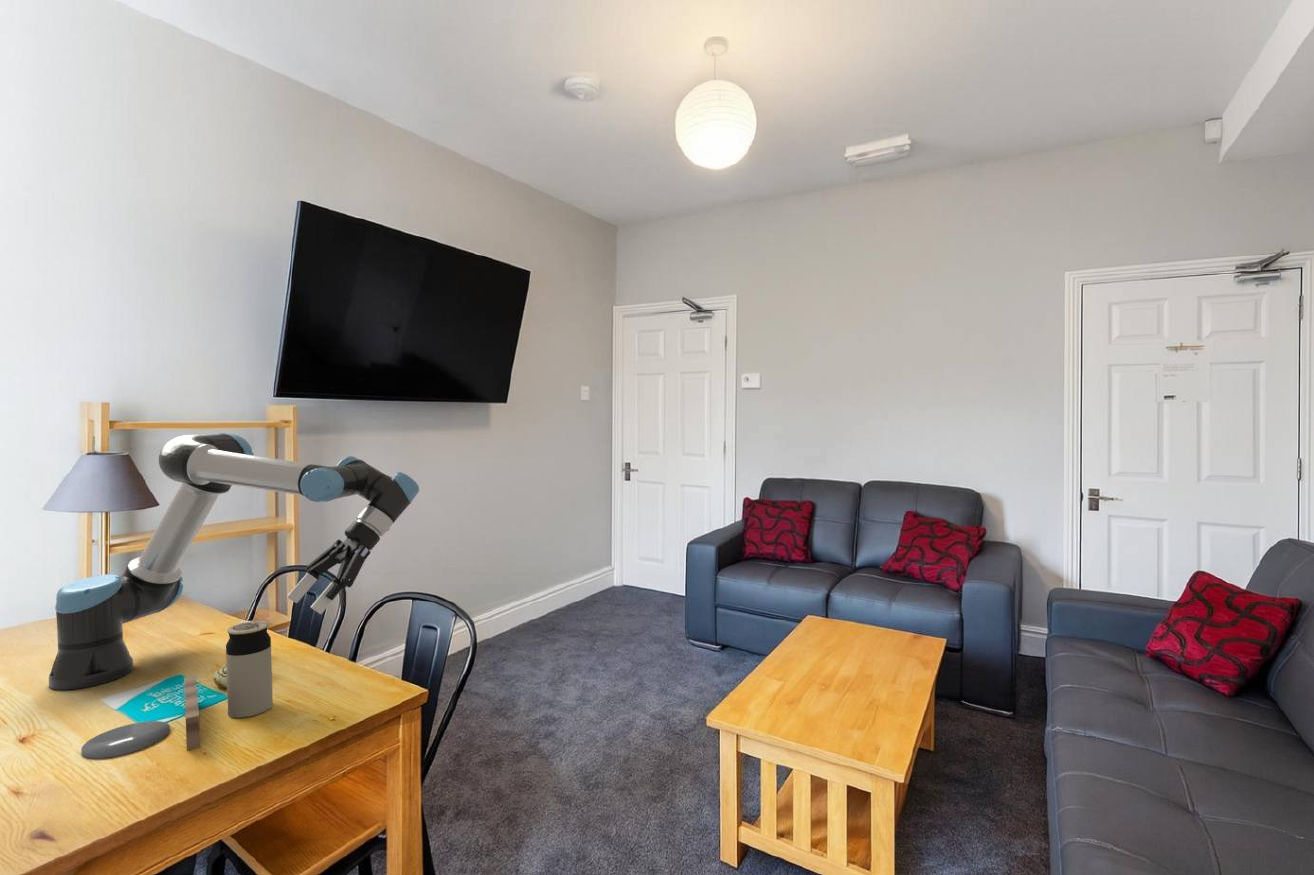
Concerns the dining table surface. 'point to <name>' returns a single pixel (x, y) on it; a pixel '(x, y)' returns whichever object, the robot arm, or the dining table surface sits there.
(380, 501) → the robot arm
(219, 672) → the decorated donut
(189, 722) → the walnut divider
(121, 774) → the dining table surface
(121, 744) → the grey oval pebble
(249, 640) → the travel mug
